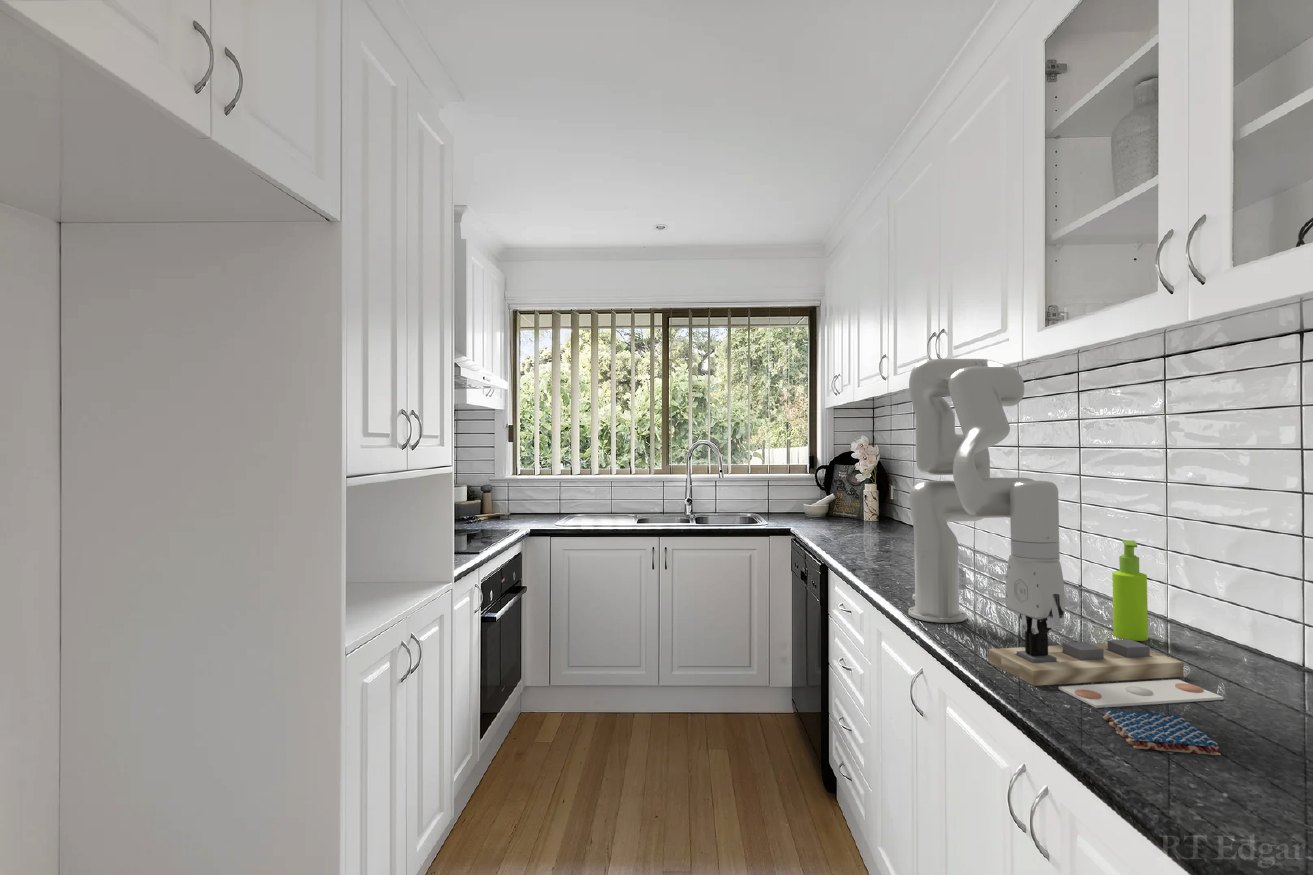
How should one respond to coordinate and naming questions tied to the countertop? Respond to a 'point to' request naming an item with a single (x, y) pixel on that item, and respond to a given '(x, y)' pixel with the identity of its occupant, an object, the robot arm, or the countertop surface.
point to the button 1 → (1036, 657)
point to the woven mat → (1160, 732)
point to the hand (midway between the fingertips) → (1036, 654)
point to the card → (1139, 693)
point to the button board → (1084, 667)
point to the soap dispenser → (1130, 597)
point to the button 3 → (1128, 648)
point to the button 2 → (1083, 651)
